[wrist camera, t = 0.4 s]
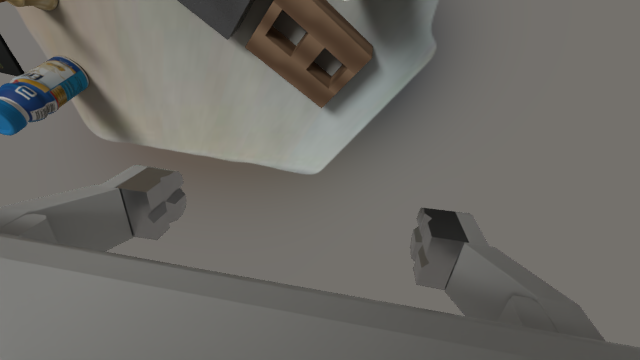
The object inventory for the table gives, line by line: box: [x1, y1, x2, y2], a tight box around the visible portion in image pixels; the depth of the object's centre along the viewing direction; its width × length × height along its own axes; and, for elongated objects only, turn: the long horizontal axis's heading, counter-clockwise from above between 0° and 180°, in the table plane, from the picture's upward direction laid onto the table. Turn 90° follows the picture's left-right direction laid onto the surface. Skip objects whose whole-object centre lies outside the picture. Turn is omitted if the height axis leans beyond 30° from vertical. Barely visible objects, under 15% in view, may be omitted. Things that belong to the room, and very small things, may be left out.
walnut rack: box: [245, 0, 373, 108], centre depth 54 cm, size 14×18×5 cm
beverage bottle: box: [0, 56, 89, 135], centre depth 62 cm, size 8×8×20 cm
